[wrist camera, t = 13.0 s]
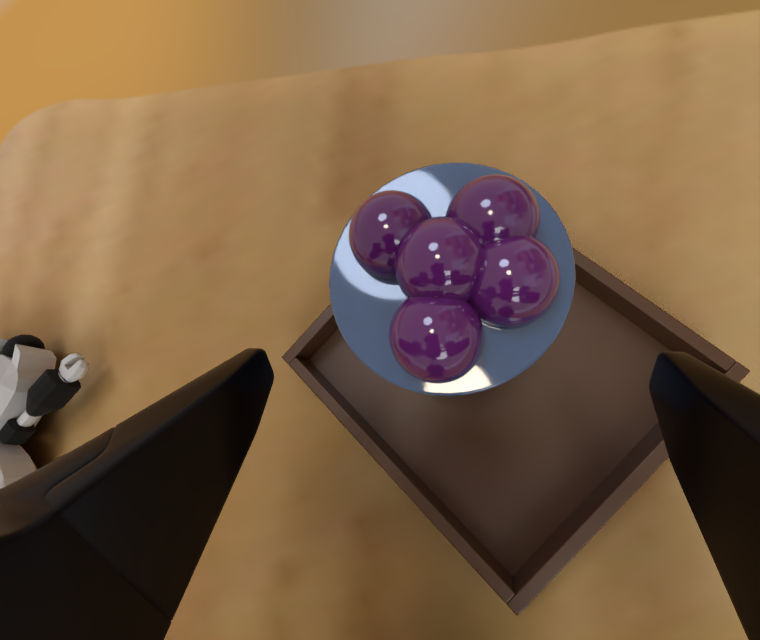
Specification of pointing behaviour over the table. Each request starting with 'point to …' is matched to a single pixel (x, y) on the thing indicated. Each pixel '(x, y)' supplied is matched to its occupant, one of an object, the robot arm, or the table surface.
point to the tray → (521, 432)
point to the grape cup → (452, 279)
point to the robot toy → (30, 397)
